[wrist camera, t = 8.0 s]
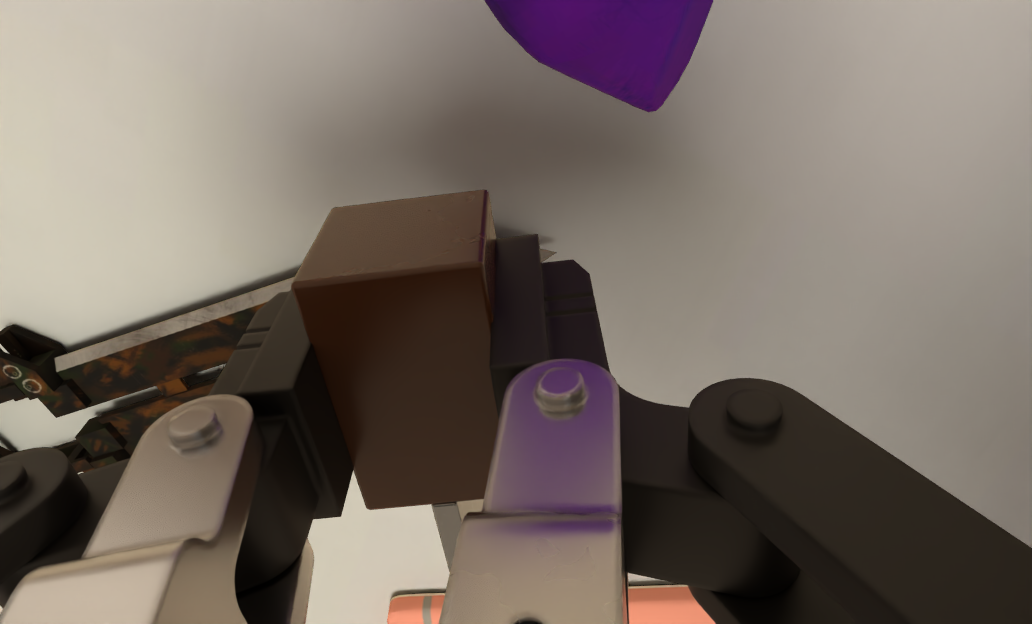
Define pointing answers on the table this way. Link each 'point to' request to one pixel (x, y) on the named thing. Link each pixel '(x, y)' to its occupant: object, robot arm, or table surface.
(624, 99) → the purple pointed teardrop
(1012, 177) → the table surface
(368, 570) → the table surface
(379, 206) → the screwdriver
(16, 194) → the table surface
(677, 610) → the cell phone
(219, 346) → the knife
